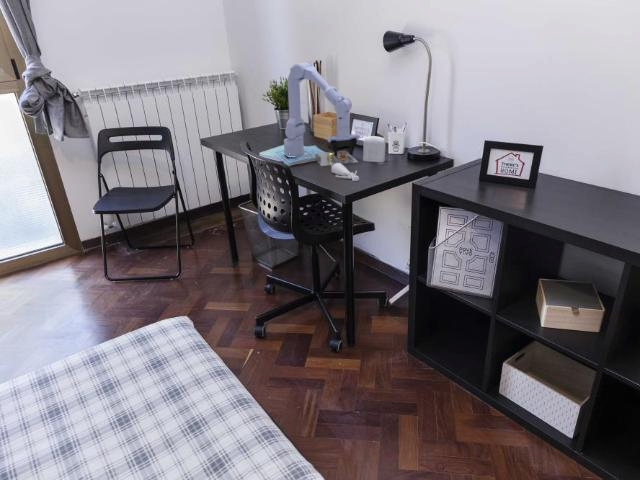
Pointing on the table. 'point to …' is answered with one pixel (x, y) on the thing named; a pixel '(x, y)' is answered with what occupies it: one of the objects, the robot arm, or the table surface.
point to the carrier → (332, 158)
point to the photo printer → (374, 149)
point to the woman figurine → (343, 172)
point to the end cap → (340, 144)
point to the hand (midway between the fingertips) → (343, 155)
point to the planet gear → (342, 156)
